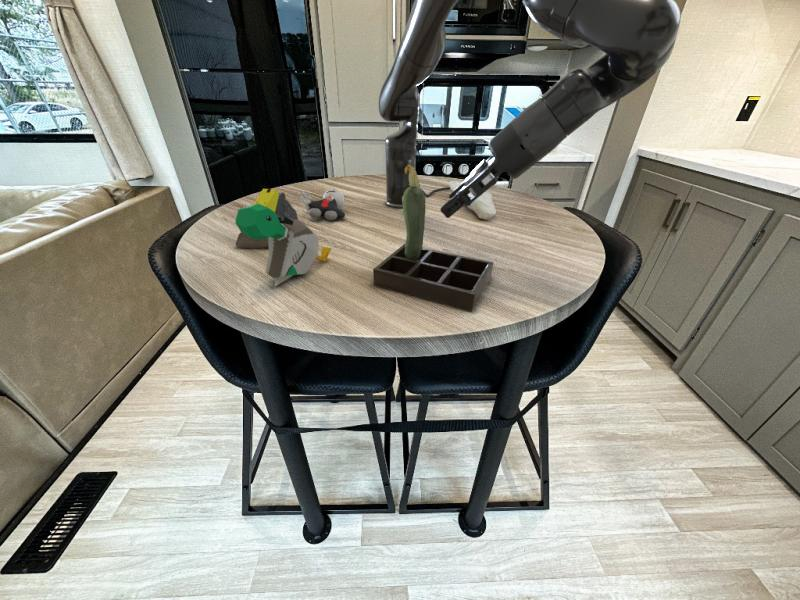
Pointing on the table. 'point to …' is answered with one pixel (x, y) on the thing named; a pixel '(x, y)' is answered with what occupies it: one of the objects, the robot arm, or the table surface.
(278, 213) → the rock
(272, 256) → the toy
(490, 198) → the rock
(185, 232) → the table surface
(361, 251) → the table surface
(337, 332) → the table surface
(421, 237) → the vegetable
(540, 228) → the table surface
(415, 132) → the robot arm
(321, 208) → the toy
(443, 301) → the brown compartment tray
